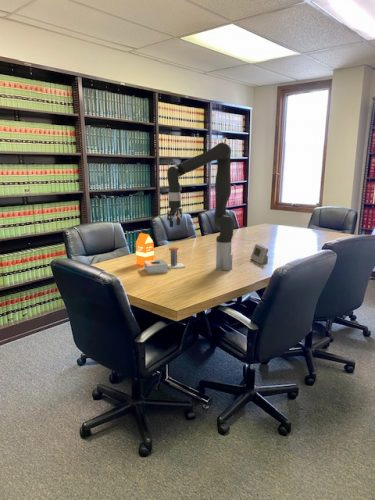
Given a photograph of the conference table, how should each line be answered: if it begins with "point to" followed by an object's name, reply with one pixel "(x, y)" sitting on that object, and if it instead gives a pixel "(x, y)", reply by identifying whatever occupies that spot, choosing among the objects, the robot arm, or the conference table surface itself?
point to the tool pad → (179, 265)
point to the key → (173, 256)
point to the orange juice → (144, 249)
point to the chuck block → (155, 266)
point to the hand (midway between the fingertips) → (175, 226)
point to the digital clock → (260, 254)
